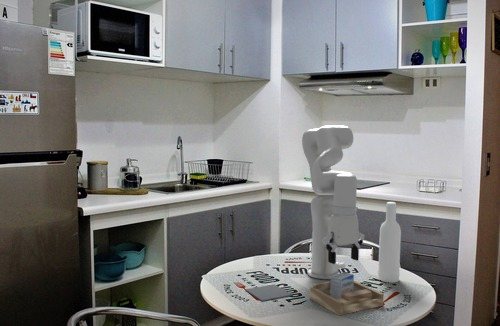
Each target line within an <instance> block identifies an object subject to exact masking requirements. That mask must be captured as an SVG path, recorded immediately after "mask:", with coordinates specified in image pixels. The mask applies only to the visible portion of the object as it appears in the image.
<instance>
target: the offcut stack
mask: <svg viewBox="0 0 500 326" xmlns="http://www.w3.org/2000/svg"><path fill="white" fill-rule="evenodd" d="M337 300H339V301H341V302H343V306H346V305H350V304H355V303H360V302H364V301H369V300H373V299H372V292H371V291H369V290H367V289H364V290H359V291H354V292H349V293H344V294H342V298H340V299H337Z"/></svg>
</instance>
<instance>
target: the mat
mask: <svg viewBox="0 0 500 326" xmlns="http://www.w3.org/2000/svg"><path fill="white" fill-rule="evenodd" d="M245 291H246V292H247V293H249V294H250V295H252V296H253V297H255V298H257V299H258V301H259V300H260V301H261V302H267V301H272V300H278V299H283V298H288V297H293V294H291V293H290V292H288V291H286V290H285V289H283V288H281V287H279V285H276V284H275V283H274V284H269V285H263V286H257V287H250V288H245Z"/></svg>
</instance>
